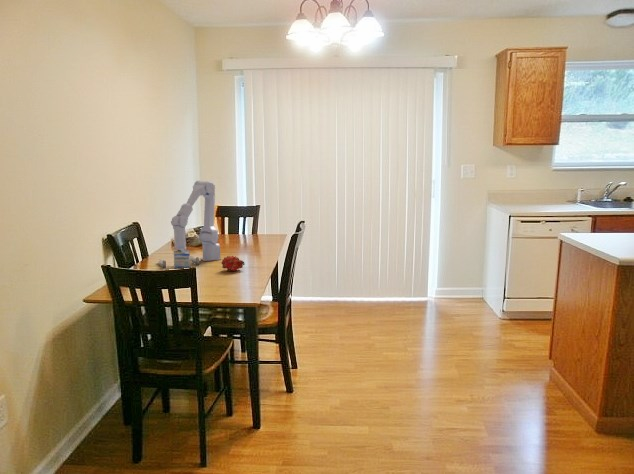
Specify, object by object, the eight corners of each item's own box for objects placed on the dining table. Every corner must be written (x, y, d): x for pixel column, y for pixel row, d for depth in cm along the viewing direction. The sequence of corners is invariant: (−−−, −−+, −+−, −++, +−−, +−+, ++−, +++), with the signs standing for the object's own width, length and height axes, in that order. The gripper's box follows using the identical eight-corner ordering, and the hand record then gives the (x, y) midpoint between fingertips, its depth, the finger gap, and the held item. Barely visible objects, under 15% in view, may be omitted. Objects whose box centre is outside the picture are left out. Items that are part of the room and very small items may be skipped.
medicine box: (174, 269, 259) (173, 254, 255) (174, 264, 263) (173, 250, 259) (190, 268, 261) (189, 253, 257) (189, 263, 265) (189, 249, 261)
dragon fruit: (220, 273, 257) (243, 276, 258) (218, 266, 250) (242, 270, 250) (223, 258, 261) (246, 261, 262) (222, 251, 254) (245, 255, 254)
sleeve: (192, 259, 281) (192, 252, 280) (199, 265, 268) (199, 257, 267) (158, 263, 272) (157, 255, 272) (163, 268, 259) (162, 261, 259)
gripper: (169, 236, 266) (170, 261, 269) (174, 241, 254) (176, 267, 256) (182, 236, 269) (183, 260, 272) (189, 240, 257) (190, 266, 259)
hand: (181, 264), depth 264 cm, fingers closed, pressing on medicine box
